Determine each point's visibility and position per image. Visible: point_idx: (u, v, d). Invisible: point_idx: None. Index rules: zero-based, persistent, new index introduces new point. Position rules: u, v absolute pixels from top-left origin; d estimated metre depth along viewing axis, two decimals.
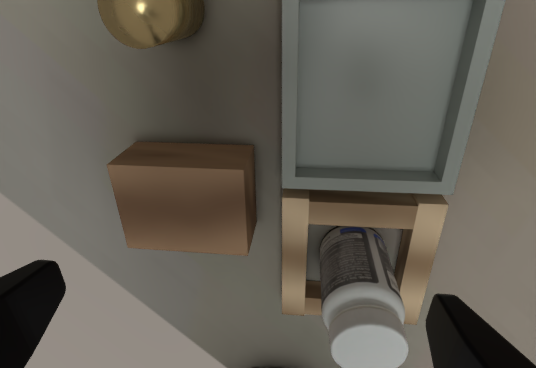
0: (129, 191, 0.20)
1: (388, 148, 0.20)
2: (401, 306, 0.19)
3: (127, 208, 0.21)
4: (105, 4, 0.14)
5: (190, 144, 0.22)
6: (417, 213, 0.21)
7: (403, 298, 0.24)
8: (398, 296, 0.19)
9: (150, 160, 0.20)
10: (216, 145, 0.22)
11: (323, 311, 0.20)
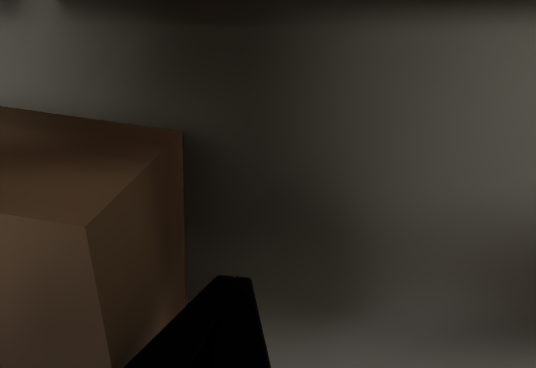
0: None
1: None
2: None
3: None
4: None
5: None
6: None
7: None
8: None
9: None
10: None
11: None
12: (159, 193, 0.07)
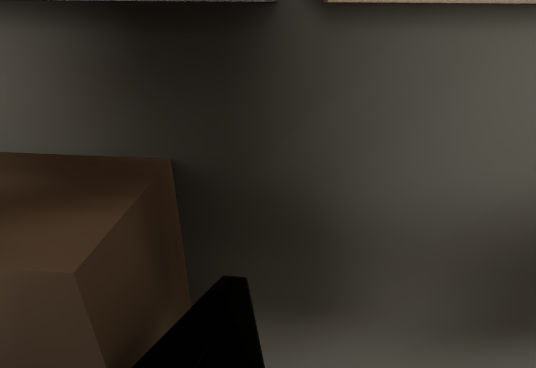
0: None
1: None
2: None
3: None
4: None
5: None
6: None
7: None
8: None
9: None
10: None
11: None
12: (151, 224, 0.07)
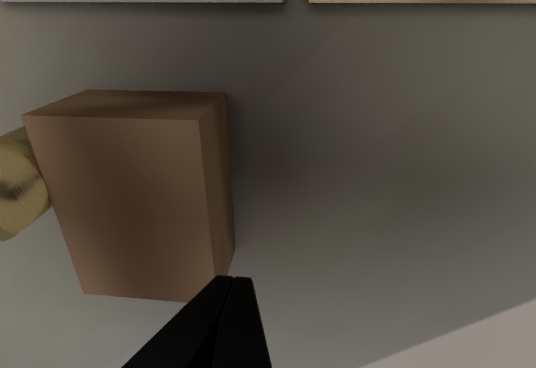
0: (116, 279, 0.14)
1: None
2: None
3: (145, 288, 0.14)
4: None
5: None
6: None
7: None
8: None
9: None
10: None
11: None
12: (218, 123, 0.13)
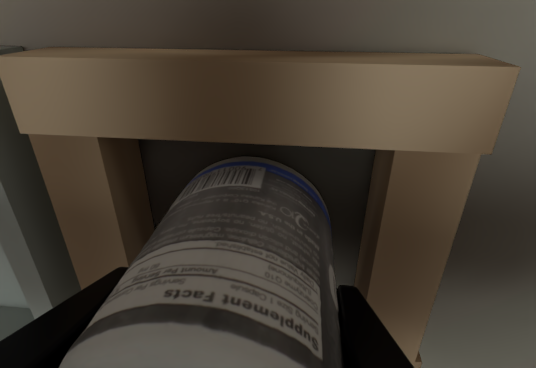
0: None
1: None
2: (88, 364, 0.04)
3: None
4: None
5: None
6: (47, 133, 0.08)
7: (364, 131, 0.07)
8: (82, 342, 0.05)
9: None
10: None
11: None
12: None
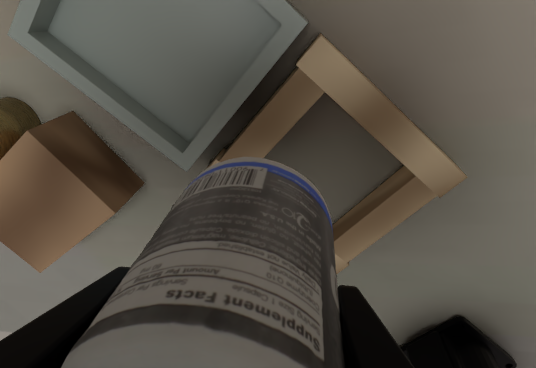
0: None
1: (226, 51, 0.17)
2: (90, 364, 0.04)
3: (4, 235, 0.21)
4: None
5: None
6: (307, 74, 0.16)
7: (413, 163, 0.18)
8: (84, 342, 0.05)
9: None
10: None
11: None
12: None
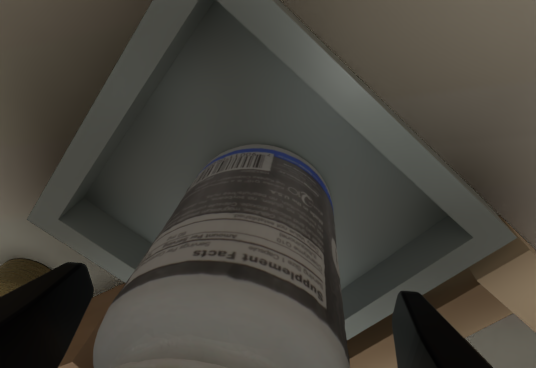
0: None
1: (354, 237, 0.12)
2: (134, 307, 0.05)
3: None
4: None
5: None
6: (492, 292, 0.11)
7: None
8: (125, 293, 0.06)
9: None
10: None
11: None
12: None
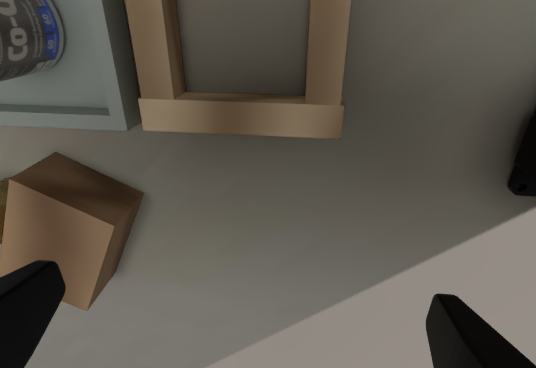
0: None
1: None
2: None
3: None
4: None
5: None
6: None
7: None
8: None
9: None
10: None
11: None
12: (130, 214, 0.21)
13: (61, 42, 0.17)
